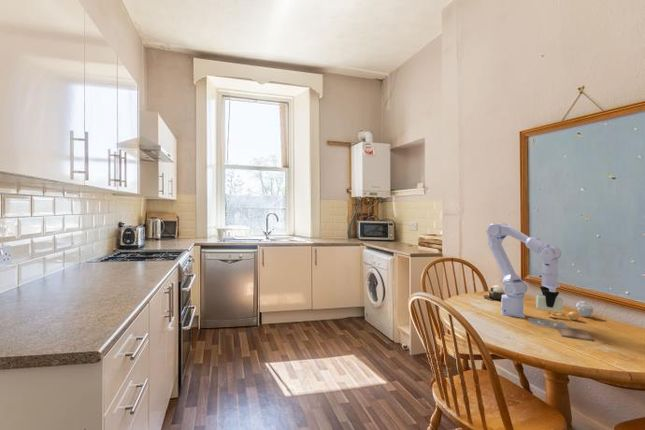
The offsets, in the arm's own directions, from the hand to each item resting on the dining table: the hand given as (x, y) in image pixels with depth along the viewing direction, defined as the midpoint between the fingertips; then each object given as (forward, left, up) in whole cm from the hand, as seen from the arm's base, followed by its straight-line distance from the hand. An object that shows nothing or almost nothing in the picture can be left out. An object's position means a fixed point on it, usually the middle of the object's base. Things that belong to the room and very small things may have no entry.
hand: (548, 305), depth 149 cm
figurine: (+14, +12, -8) cm, 20 cm away
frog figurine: (+18, +22, -8) cm, 30 cm away
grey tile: (0, 0, -8) cm, 8 cm away
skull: (-19, +37, -9) cm, 43 cm away
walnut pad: (+7, -11, -8) cm, 15 cm away
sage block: (0, 0, -2) cm, 2 cm away
